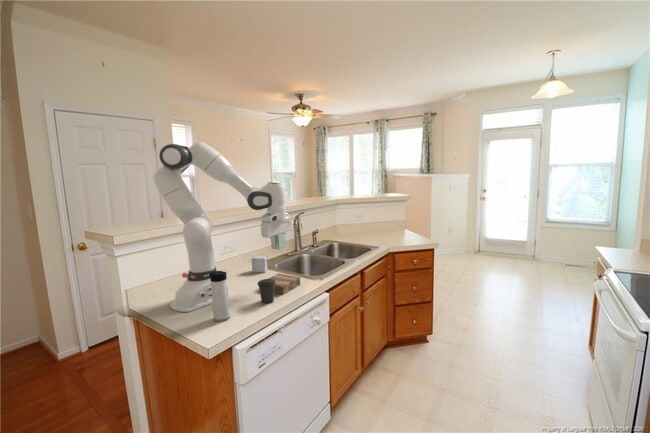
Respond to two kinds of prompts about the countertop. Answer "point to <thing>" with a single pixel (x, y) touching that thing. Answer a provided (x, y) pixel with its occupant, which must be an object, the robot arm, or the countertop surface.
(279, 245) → the sage block
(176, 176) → the robot arm
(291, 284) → the walnut base
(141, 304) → the countertop surface
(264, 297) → the coffee cup
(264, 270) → the medicine box
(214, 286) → the travel mug
